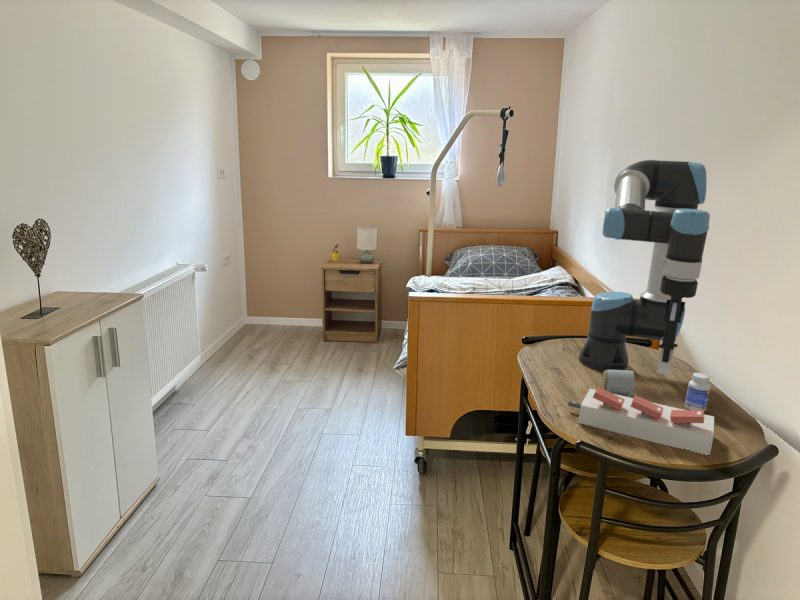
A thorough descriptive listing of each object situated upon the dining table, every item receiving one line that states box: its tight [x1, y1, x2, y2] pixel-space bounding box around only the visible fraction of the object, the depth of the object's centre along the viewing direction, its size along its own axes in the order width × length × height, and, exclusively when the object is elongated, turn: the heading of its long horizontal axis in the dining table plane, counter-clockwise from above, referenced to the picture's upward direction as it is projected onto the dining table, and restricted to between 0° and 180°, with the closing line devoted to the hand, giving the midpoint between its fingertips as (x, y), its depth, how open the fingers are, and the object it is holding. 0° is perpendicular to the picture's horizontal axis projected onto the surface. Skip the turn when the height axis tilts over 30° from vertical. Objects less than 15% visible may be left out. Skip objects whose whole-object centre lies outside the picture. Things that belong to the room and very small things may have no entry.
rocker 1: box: [593, 386, 625, 411], centre depth 148 cm, size 4×7×2 cm, turn 62°
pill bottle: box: [684, 372, 712, 412], centre depth 160 cm, size 5×5×10 cm
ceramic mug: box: [601, 369, 636, 398], centre depth 165 cm, size 11×8×8 cm
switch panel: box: [567, 388, 715, 456], centre depth 148 cm, size 12×34×6 cm, turn 62°
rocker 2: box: [630, 394, 663, 419], centre depth 144 cm, size 4×7×2 cm, turn 62°
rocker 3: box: [670, 409, 705, 423], centre depth 140 cm, size 4×7×2 cm, turn 62°
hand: (663, 372), depth 141 cm, fingers closed
